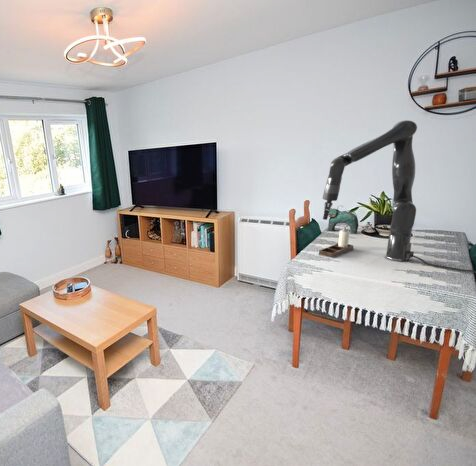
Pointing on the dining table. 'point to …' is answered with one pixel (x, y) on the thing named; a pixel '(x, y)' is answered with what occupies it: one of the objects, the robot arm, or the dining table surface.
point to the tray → (335, 250)
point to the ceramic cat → (342, 219)
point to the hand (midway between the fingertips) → (325, 217)
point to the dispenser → (343, 237)
